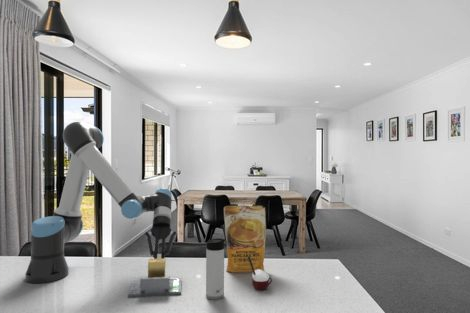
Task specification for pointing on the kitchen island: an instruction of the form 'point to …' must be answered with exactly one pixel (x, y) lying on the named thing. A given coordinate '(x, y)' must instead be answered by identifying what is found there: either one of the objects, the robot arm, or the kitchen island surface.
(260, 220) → the pancake mix bag
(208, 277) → the travel mug
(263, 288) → the cocoa
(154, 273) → the brushed brass block
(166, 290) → the gauge bed
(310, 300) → the kitchen island surface
